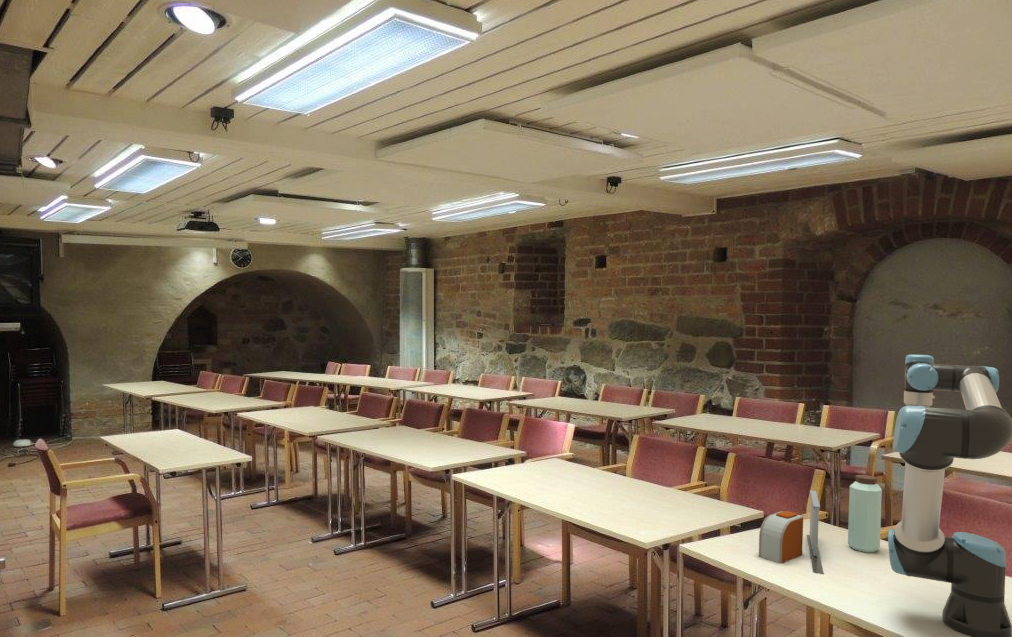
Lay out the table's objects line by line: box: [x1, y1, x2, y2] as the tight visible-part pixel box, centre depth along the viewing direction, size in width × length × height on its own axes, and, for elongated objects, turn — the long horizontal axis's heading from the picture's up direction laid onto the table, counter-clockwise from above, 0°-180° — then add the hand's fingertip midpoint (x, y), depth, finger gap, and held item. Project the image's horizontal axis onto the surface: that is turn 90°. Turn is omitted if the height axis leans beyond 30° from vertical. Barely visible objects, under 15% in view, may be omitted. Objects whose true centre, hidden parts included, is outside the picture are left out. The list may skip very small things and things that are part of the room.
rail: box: [806, 534, 825, 575], centre depth 237 cm, size 39×3×1 cm, turn 160°
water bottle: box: [847, 474, 883, 553], centre depth 243 cm, size 10×10×25 cm
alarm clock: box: [758, 510, 804, 564], centre depth 235 cm, size 15×8×14 cm, turn 130°
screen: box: [809, 490, 821, 556], centre depth 243 cm, size 22×2×16 cm, turn 160°
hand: (915, 482), depth 213 cm, fingers closed
